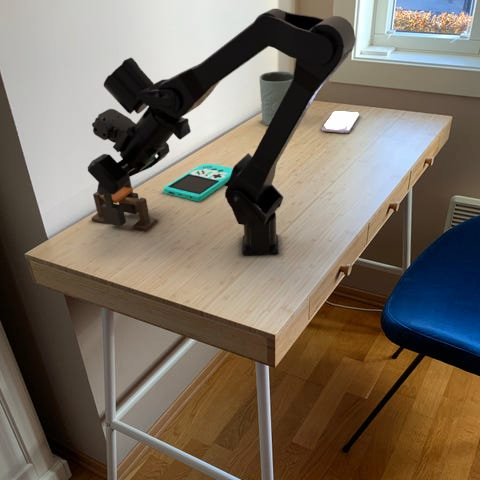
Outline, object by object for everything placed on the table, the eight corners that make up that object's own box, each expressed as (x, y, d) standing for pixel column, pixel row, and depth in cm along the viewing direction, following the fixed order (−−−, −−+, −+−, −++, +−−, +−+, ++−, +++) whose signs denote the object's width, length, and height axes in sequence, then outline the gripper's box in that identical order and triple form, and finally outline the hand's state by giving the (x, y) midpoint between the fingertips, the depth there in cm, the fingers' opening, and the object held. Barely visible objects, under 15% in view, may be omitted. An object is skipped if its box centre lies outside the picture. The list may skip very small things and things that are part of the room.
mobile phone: (360, 112, 148) (349, 130, 137) (359, 115, 149) (348, 133, 138) (333, 110, 151) (320, 127, 140) (333, 113, 151) (320, 131, 140)
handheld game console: (240, 174, 121) (240, 168, 121) (200, 202, 111) (199, 196, 110) (204, 166, 126) (204, 161, 125) (162, 193, 116) (161, 187, 115)
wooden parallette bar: (157, 221, 105) (153, 196, 102) (146, 231, 102) (142, 205, 99) (103, 212, 110) (97, 187, 106) (92, 221, 107) (85, 196, 103)
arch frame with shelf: (121, 226, 102) (110, 178, 96) (104, 223, 104) (93, 175, 97) (140, 210, 107) (132, 163, 101) (125, 207, 109) (115, 161, 102)
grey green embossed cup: (277, 113, 154) (277, 69, 147) (303, 120, 148) (304, 74, 141) (252, 122, 149) (251, 77, 142) (278, 130, 143) (278, 83, 136)
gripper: (146, 81, 96) (108, 136, 107) (83, 113, 83) (47, 172, 94) (189, 129, 98) (147, 177, 109) (134, 167, 85) (93, 218, 96)
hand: (110, 184), depth 102 cm, fingers closed on arch frame with shelf, 7 cm apart
